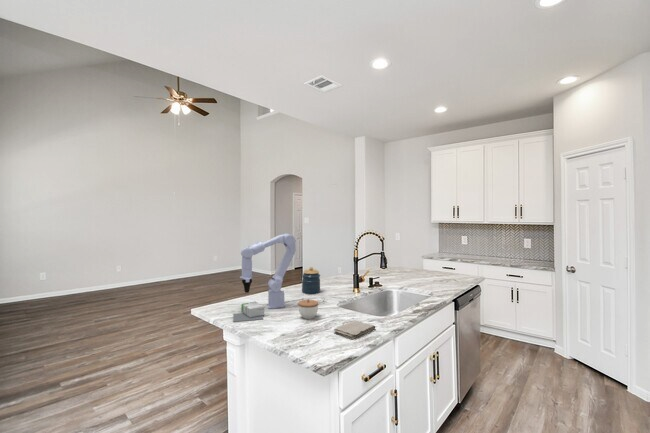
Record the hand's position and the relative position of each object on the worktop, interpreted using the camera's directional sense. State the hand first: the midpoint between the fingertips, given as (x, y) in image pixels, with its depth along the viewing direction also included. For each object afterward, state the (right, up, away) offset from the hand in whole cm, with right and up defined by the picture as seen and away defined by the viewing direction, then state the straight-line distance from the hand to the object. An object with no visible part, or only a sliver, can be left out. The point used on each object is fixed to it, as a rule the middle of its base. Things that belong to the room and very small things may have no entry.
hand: (246, 292), depth 179 cm
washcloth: (+59, -11, -33) cm, 68 cm away
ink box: (+2, -7, -4) cm, 8 cm away
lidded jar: (+36, -10, -13) cm, 40 cm away
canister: (+35, -10, +40) cm, 54 cm away
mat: (+4, -10, -13) cm, 17 cm away
